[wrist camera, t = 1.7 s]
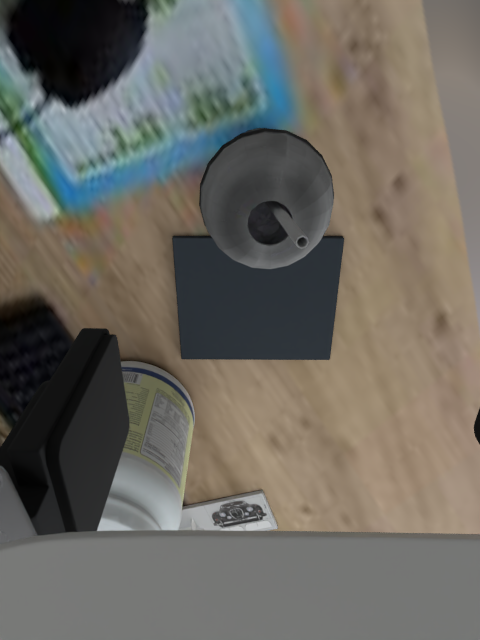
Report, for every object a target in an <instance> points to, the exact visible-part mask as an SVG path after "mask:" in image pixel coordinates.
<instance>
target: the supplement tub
mask: <svg viewBox="0 0 480 640" xmlns="http://www.w3.org/2000/svg"><path fill="white" fill-rule="evenodd" d="M121 367H122V374H123V380H124V387H125V394H126V400H127V407H128V414H129V432H128V436H127V439H126V442H125V445H124V448H123V451H122V454H121V458H120V461H119V464H118V467H117V470H116V473H115V476H114V479H113V482H112V486H111V489H110V492H109V495H108V498H107V501H106V504H105V507H104V510H103V514H102V517H101V520H100V523H99V526H98V529H97V531H124V530H178V529H179V525H180V522H181V517H182V505H183V498H184V490H185V482H186V475H187V468H188V461H189V454H190V447H191V439H192V433H193V427H194V422H195V413H194V407H193V403H192V401H191V398H190V396H189V394H188V392H187V391H186V389H185V388H184V387H183V385H182V384H181V383H180V382H179V381H178V380H177V379H176V378H174V377H173V376H172V375H170V374H169V373H167V372H166V371H164V370H162V369H160V368H158V367H156V366H153V365H150V364H147V363H143V362H137V361H123V362H121Z"/></svg>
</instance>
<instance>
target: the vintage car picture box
mask: <svg viewBox="0 0 480 640" xmlns="http://www.w3.org/2000/svg"><path fill="white" fill-rule="evenodd" d="M273 529H278V525H277V523H276V520H275V518H274V516H273V513H272V511H271V509H270V506H269V504H268V501H267V499H266V497H265V494H264V492H263V490H260V491H255V492H250V493H245V494H241V495H236V496H231V497H226V498H221V499H217V500H212V501H207V502H202V503H197V504H193V505H188V506H183V507H182V517H181V522H180V525H179V529H178V530H221V531H268V530H273Z"/></svg>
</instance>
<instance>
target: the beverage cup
mask: <svg viewBox="0 0 480 640" xmlns="http://www.w3.org/2000/svg"><path fill="white" fill-rule="evenodd" d="M333 200H334V191H333V183H332V175H331V173H330V171H329V169H328V167H327V165H326V163H325V161H324V158H323V156H322V155H321V154H320V153H319V152H318V151H317V150H316V149H315V148H314V147H313V146H312V145H311V144H310V143H309V142H308V141H307V140H305V139H303V138H301V137H299V136H297V135H295V134H293V133H291V132H288V131H286V130H276V129H267V128H257V129H253V130H249V131H247V132H245V133H242V134H240V135H239V136H237V137H235V138H234V139H232V140H231V141H229V142H227V143H226V144H224V145H223V146H222V147H221V148H220V149H219V150H218V152H217V153H216V154H215V155H214V157H213V158H212V159H211V160H210V162H209V163H208V165H207V168H206V170H205V173H204V175H203V178H202V181H201V183H200V201H199V206H200V209H201V213H202V217H203V220H204V224H205V226H206V228H207V230H208V232H209V234H210V235H211V237H212V238H213V240H214V241H215V243H216V245H217V246H218V248H219V249H221V250H222V251H223V252H224V253H225V254H227V255H228V256H229V257H230V258H232V259H233V260H235V261H237V262H239V263H242V264H244V265H247V266H249V267H252V268H262V269H274V268H279V267H284V266H288V265H290V264H292V263H294V262H296V261H298V260H300V259H301V258H303V257H305V256H306V255H307V254H308V253H309V252H310V251H311V250H312V249H313V248H314V247H315V246H316V245H317V244H318V243H319V242H320V240H321V239H322V237H323V235H324V233H325V231H326V229H327V228H328V226H329V222H330V217H331V212H332V207H333Z"/></svg>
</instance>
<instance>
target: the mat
mask: <svg viewBox="0 0 480 640" xmlns="http://www.w3.org/2000/svg"><path fill="white" fill-rule="evenodd" d="M172 239H173V252H174V265H175V278H176V292H177V305H178V318H179V331H180V344H181V357H182V359H268V360H330V352H331V344H332V336H333V327H334V319H335V310H336V302H337V294H338V285H339V277H340V268H341V260H342V252H343V243H344V238H343V236H323V237H322V239H321V240H320V242H319V243H318V244H317V245H316V246H315V247H314V248H313V249H312V250H311V251H310V252H309V253H308V254H307V255H306V256H305V257H303V258H301V259H300V260H298V261H296V262H294V263H292V264H290V265H288V266H284V267H279V268H274V269H262V268H252V267H249V266H247V265H244V264H242V263H239V262H237V261H235V260H233V259H232V258H230V257H229V256H228V255H227V254H225V253H224V252H223V251H222V250H221V249H219V248H218V246H217V245H216V243H215V241H214V240H213V238H212V237H211V236H173V238H172Z"/></svg>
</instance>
